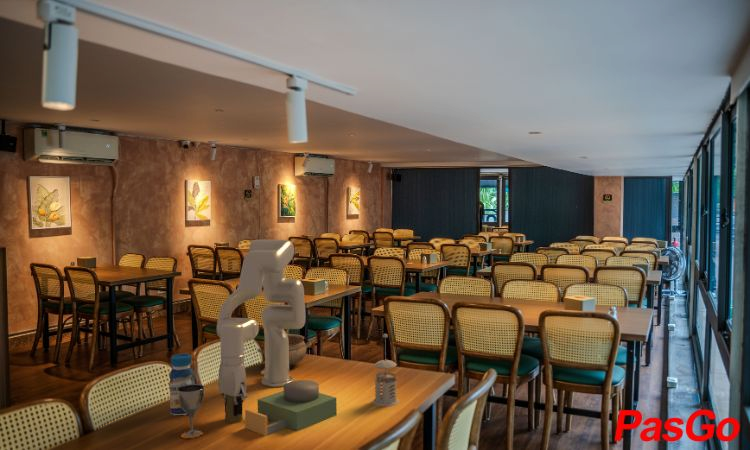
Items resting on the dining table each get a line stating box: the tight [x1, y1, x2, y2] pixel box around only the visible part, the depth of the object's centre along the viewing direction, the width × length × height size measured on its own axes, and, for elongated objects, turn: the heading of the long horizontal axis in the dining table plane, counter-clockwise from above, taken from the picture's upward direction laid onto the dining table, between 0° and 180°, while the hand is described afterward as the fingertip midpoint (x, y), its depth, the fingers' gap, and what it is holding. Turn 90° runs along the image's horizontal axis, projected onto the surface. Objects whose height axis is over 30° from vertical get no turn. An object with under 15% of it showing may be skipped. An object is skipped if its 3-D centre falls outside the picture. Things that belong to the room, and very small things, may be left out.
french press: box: [372, 333, 400, 407], centre depth 216 cm, size 10×12×25 cm
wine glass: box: [178, 383, 205, 436], centre depth 188 cm, size 8×8×15 cm
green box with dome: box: [244, 379, 338, 437], centre depth 200 cm, size 20×27×10 cm
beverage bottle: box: [168, 353, 195, 416], centre depth 208 cm, size 8×8×20 cm
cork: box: [224, 392, 244, 424], centre depth 201 cm, size 6×6×11 cm
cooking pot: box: [257, 333, 312, 368], centre depth 265 cm, size 25×19×12 cm
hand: (233, 412), depth 201 cm, fingers closed on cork, 4 cm apart
